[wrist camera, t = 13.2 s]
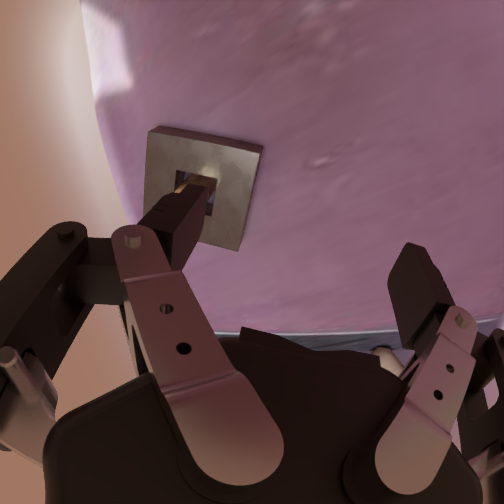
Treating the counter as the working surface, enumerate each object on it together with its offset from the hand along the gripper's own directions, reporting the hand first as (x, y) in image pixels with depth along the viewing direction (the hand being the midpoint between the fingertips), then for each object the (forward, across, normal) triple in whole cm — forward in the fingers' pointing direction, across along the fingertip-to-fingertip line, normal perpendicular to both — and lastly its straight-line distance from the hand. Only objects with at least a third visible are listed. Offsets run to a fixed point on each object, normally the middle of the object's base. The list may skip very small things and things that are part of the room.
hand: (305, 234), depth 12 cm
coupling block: (+28, +11, +12) cm, 32 cm away
